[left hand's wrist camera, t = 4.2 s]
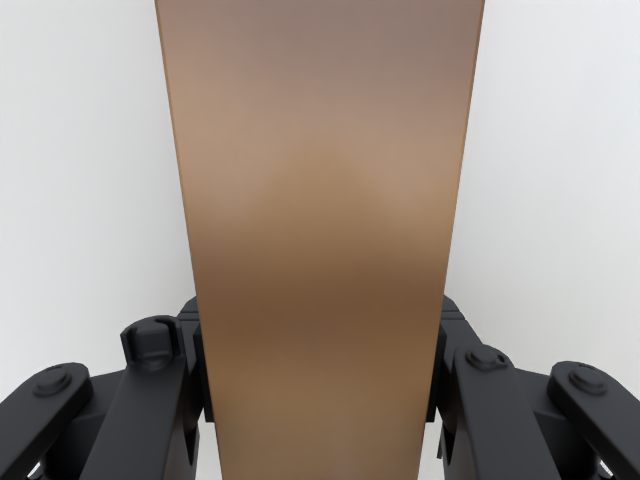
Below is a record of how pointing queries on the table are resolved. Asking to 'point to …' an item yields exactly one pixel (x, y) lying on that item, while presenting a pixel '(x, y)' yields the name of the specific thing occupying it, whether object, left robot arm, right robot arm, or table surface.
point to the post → (319, 219)
